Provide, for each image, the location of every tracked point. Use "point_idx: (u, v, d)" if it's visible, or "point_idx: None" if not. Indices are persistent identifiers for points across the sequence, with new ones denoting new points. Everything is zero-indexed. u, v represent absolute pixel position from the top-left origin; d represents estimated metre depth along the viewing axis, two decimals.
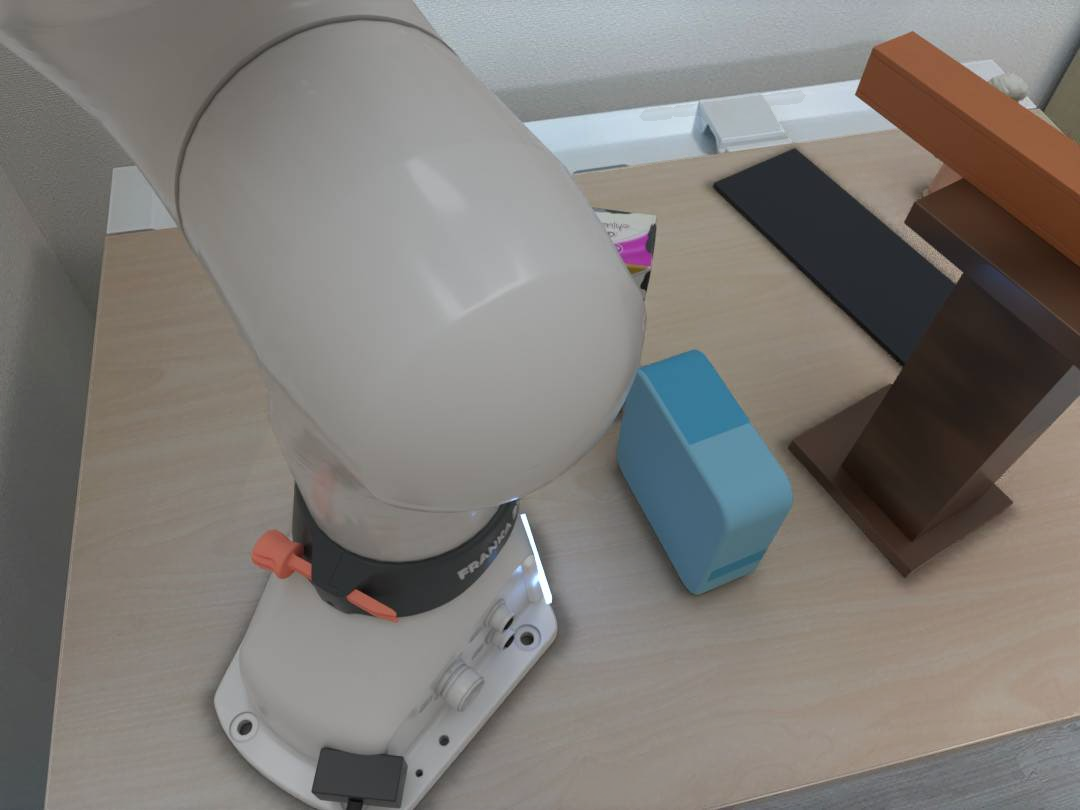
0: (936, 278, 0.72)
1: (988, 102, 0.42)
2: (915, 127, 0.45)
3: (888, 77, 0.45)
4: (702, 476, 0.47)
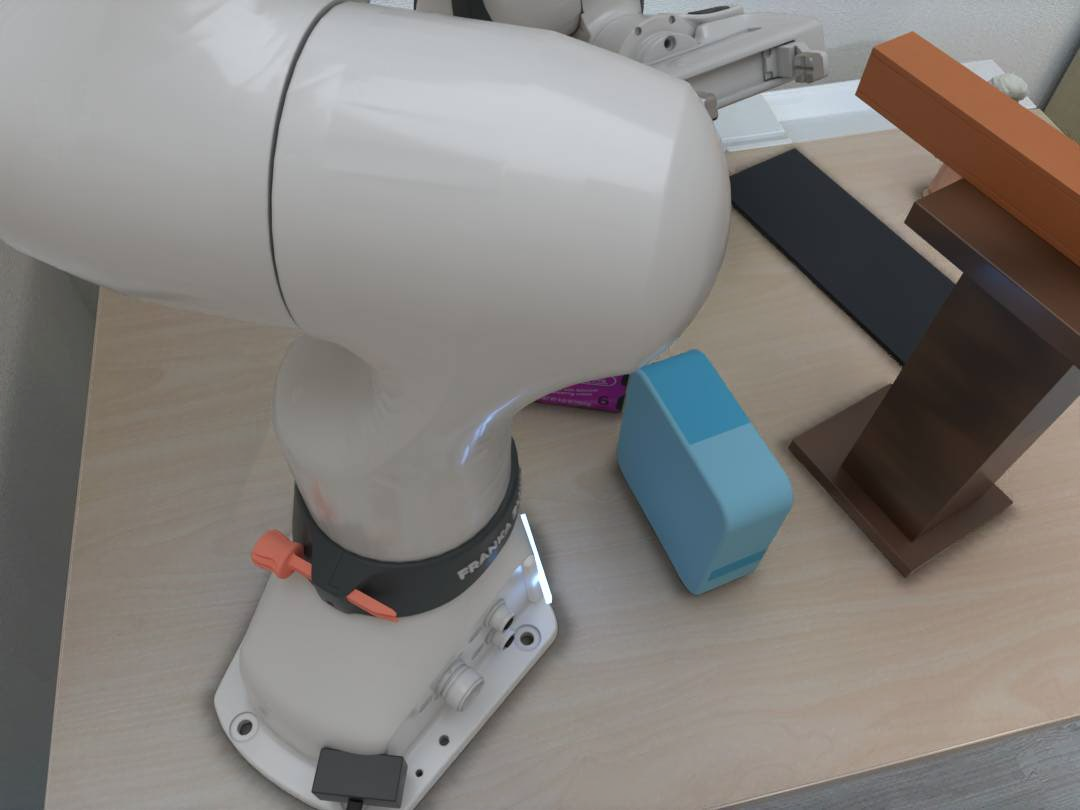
0: (936, 278, 0.72)
1: (988, 102, 0.42)
2: (915, 127, 0.45)
3: (888, 77, 0.45)
4: (702, 476, 0.47)
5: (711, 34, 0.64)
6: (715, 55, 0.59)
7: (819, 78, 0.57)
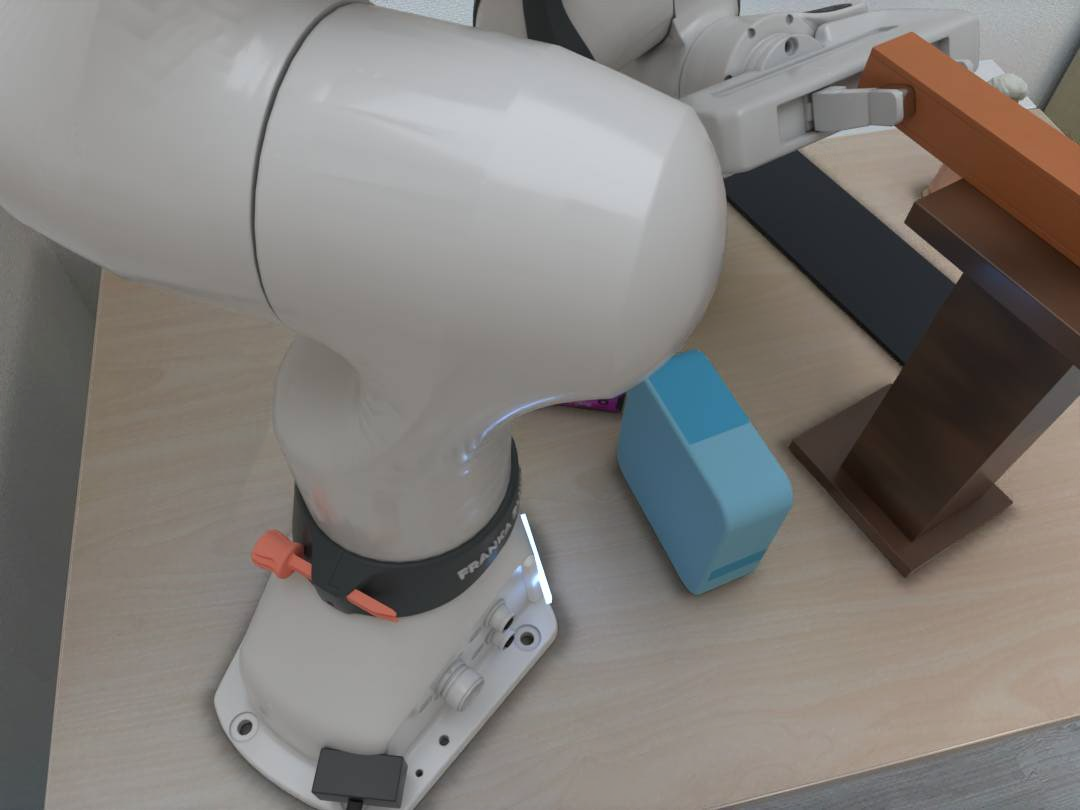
0: (936, 278, 0.72)
1: (987, 102, 0.42)
2: (914, 127, 0.45)
3: (887, 77, 0.45)
4: (702, 476, 0.47)
5: (836, 35, 0.53)
6: (858, 56, 0.48)
7: None
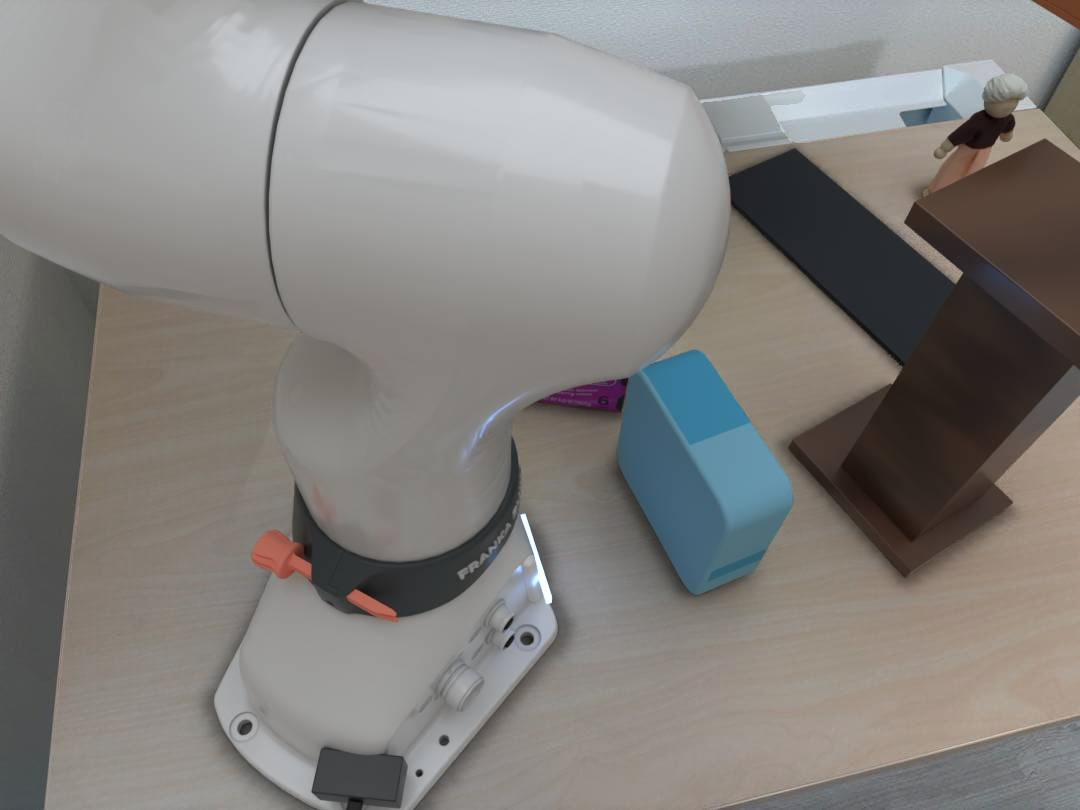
0: (936, 278, 0.72)
1: None
2: None
3: None
4: (702, 476, 0.47)
5: None
6: None
7: None
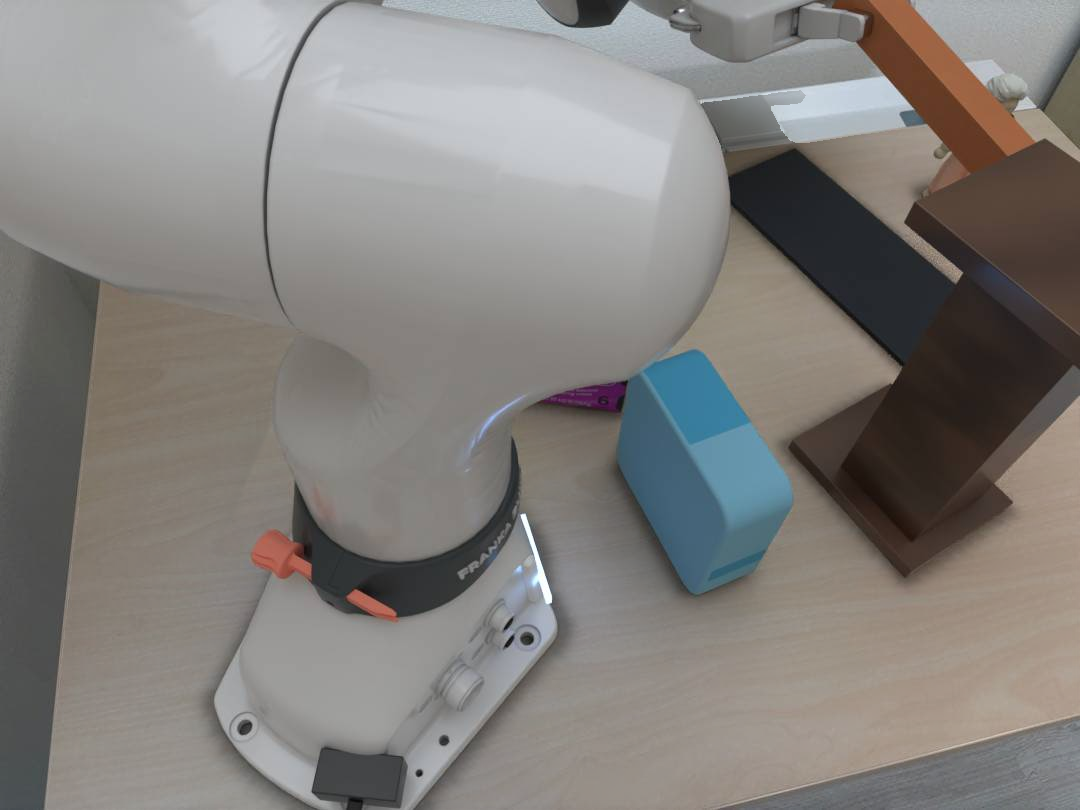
0: (936, 278, 0.72)
1: (921, 34, 0.60)
2: (868, 44, 0.62)
3: (856, 3, 0.61)
4: (702, 476, 0.47)
5: None
6: None
7: None
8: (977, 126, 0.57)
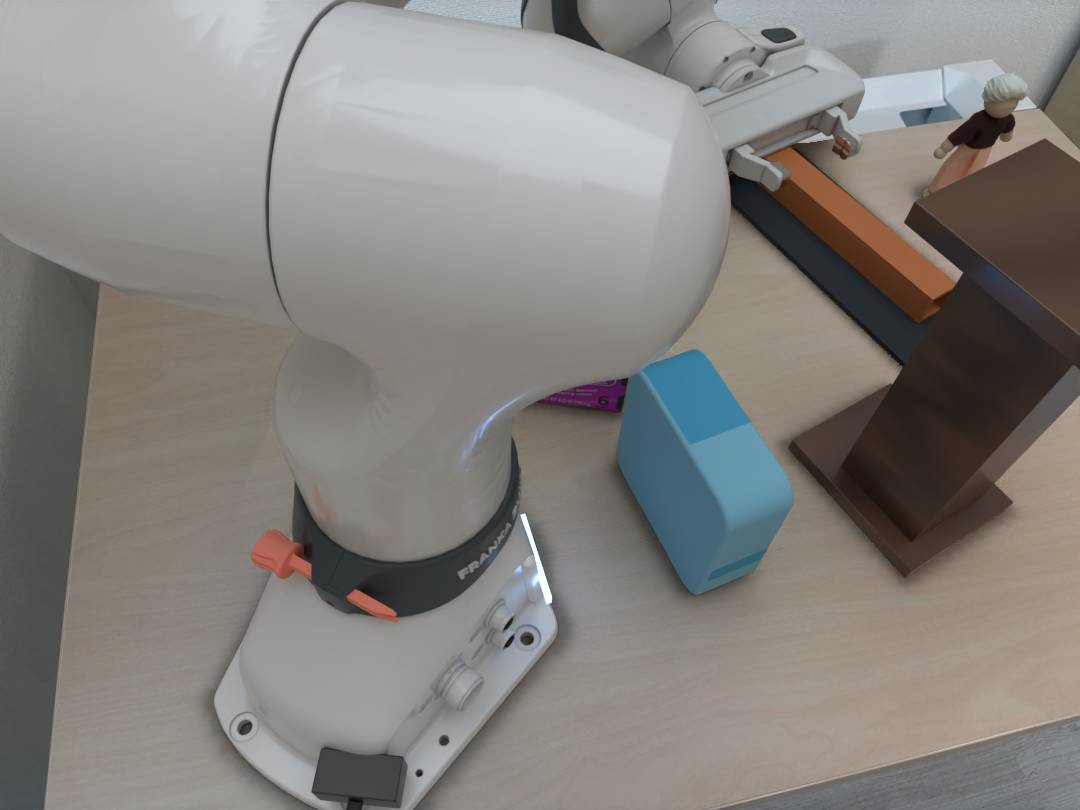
0: None
1: (828, 192, 0.73)
2: (790, 204, 0.75)
3: None
4: (702, 476, 0.47)
5: (778, 68, 0.77)
6: (785, 113, 0.73)
7: (850, 156, 0.74)
8: (881, 258, 0.69)
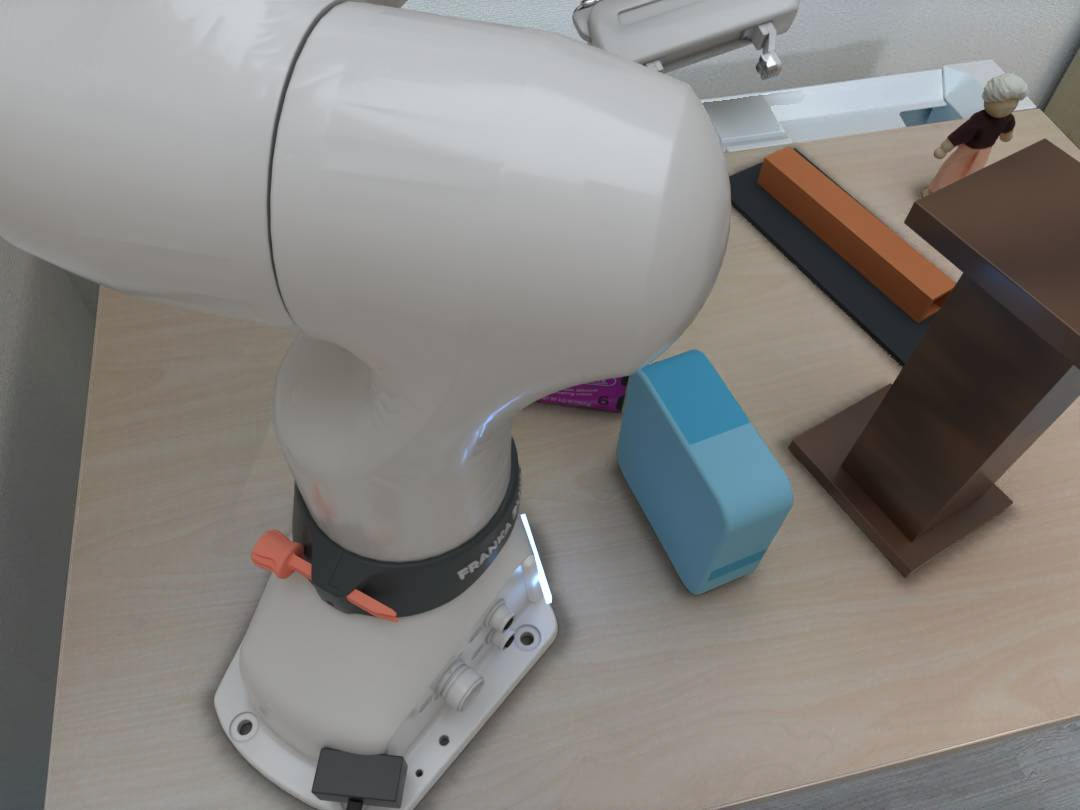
0: None
1: (828, 192, 0.73)
2: (790, 204, 0.75)
3: (773, 175, 0.75)
4: (702, 476, 0.47)
5: None
6: (709, 29, 0.76)
7: None
8: (881, 258, 0.69)
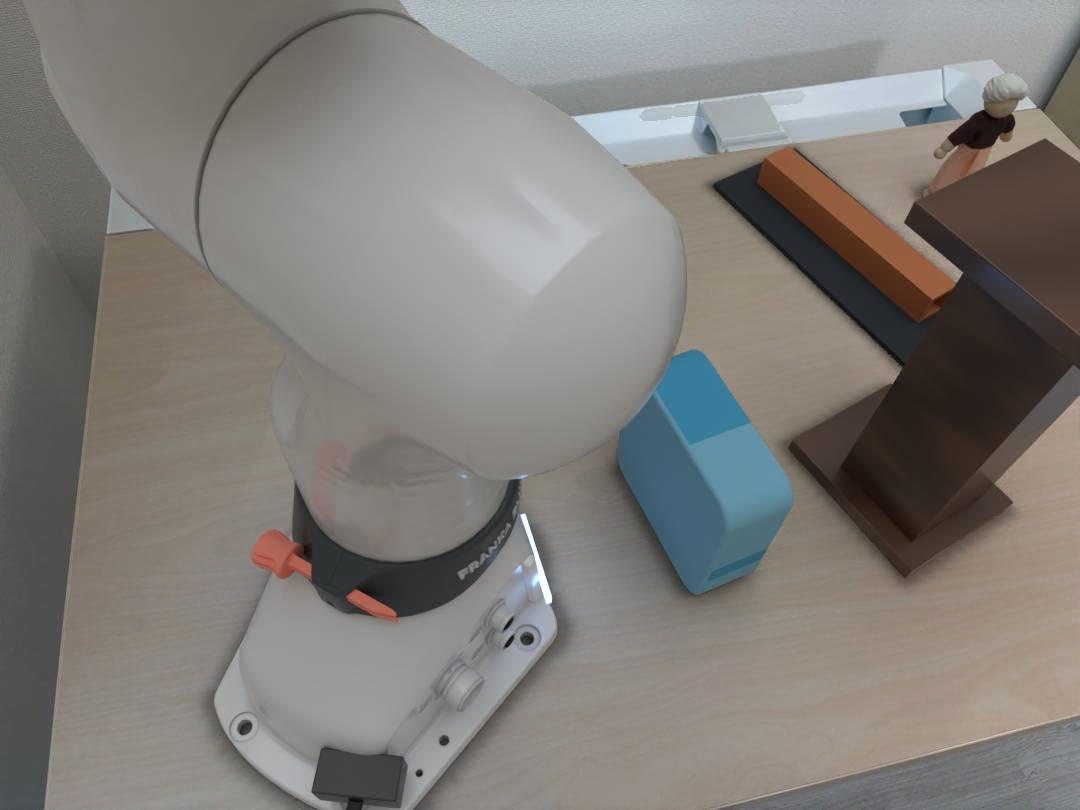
0: None
1: (828, 192, 0.73)
2: (790, 204, 0.75)
3: (773, 175, 0.75)
4: (702, 476, 0.47)
5: None
6: None
7: None
8: (881, 258, 0.69)
